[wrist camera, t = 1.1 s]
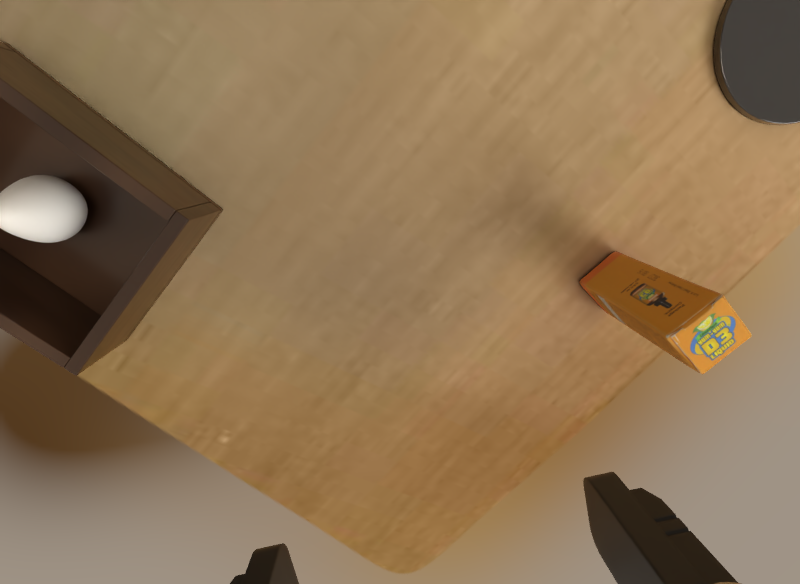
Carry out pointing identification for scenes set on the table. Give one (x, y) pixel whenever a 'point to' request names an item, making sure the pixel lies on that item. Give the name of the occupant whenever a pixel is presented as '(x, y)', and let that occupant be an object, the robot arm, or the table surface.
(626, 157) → the table surface
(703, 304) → the supplement box
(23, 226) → the egg
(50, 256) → the crate
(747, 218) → the table surface
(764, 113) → the coaster
